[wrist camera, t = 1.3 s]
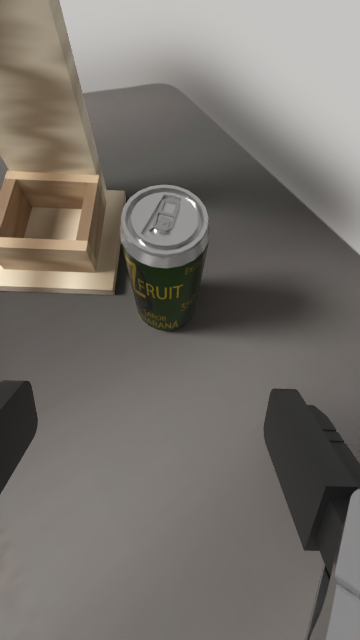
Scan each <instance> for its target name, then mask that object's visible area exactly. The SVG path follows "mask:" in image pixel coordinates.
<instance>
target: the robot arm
mask: <svg viewBox="0 0 360 640" xmlns="http://www.w3.org/2000/svg"><path fill="white" fill-rule="evenodd" d="M37 424H38V418H37V413H36V407H35V402H34V397H33V391H32V386H31V384H30V382H29V381H10V380H4V381H1V382H0V494H1V492H2V490H3V489H4V487H5V485H6V484H7V482H8V480H9V478H10V477H11V475H12V473H13V472H14V470H15V468H16V467H17V465H18V463H19V462H20V460H21V458H22V456H23V455H24V453H25V451H26V450H27V448H28V446H29V445H30V443H31V441H32V440H33V438H34V436H35V433H36V430H37ZM264 438H265V443H266V446H267V449H268V452H269V454H270V457H271V460H272V463H273V465H274V468H275V471H276V474H277V477H278V479H279V482H280V485H281V488H282V490H283V493H284V496H285V499H286V501H287V504H288V507H289V510H290V513H291V515H292V518H293V521H294V524H295V526H296V529H297V532H298V535H299V538H300V540H301V543H302V546H303V549H304V550H309V551H320V553H321V555H322V558H323V560H324V563H325V564H324V566H323V569H322V572H321V576H320V581H319V585H318V589H317V593H316V597H315V601H314V605H313V609H312V613H311V617H310V621H309V625H308V629H307V633H306V637H305V640H360V464H359V462H358V461H357V459H356V458H355V456H354V455H353V453H352V452H351V451H350V449H349V448H348V446H347V445H346V444H344V440H343V439H342V437H341V436H340V434H339V433H338V432H336V429H335V427H334V426H333V424H332V423H331V421H330V420H329V418H328V417H327V416H326V415H325V414H323V413H322V412H321V411H320V410H318V409H317V408H316V407H315V406H314V405H306V403H305V401H304V400H303V398H302V397H301V395H300V393H299V392H298V391H297V390H296V389H272V390H271V393H270V397H269V402H268V407H267V412H266V417H265V422H264Z"/></svg>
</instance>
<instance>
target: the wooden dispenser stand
mask: <svg viewBox="0 0 360 640" xmlns="http://www.w3.org/2000/svg"><path fill="white" fill-rule="evenodd" d="M0 155H1V157H2V159H3V160H4V162H5V164H6V165H7V167H8V169H9V170H10V171H7V173H6V176H5V179H4V182H3V185H2V188H1V191H0V291H20V292H47V293H74V294H101V295H114V294H115V285H116V277H117V269H118V261H119V252H120V244H121V237H120V231H119V230H120V225H121V215H122V211H123V207H124V206H125V202H126V195H125V191H117V190H107V189H106V185H105V181H104V177H103V173H102V169H101V166H100V162H99V158H98V154H97V150H96V146H95V142H94V138H93V134H92V130H91V126H90V122H89V118H88V114H87V110H86V106H85V102H84V98H83V94H82V90H81V86H80V82H79V78H78V74H77V70H76V66H75V62H74V58H73V54H72V50H71V46H70V42H69V38H68V34H67V30H66V26H65V22H64V18H63V14H62V10H61V6H60V2H59V0H0Z"/></svg>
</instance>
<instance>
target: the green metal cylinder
mask: <svg viewBox="0 0 360 640" xmlns="http://www.w3.org/2000/svg"><path fill="white" fill-rule="evenodd" d="M119 231H120V237H121V243H122V247H123V251H124V255H125V259H126V263H127V267H128V272H129V276H130V280H131V284H132V288H133V292H134V296H135V300H136V305H137V309H138V312H139V314H140V316H141V318H142V320H143V321H145V322H146V323H147V324H148V325H149V326H151V327H153V328H155V329H158V330H166V331H168V330H174V329H178V328H179V327H181V326H183V325H185V324H186V323H187V322H188V321H189V320H190V319H191V317H192V315H193V313H194V311H195V307H196V302H197V297H198V292H199V287H200V282H201V277H202V272H203V267H204V262H205V258H206V253H207V248H208V243H209V235H210V227H209V224H208V214H207V211H206V208H205V206H204V204H203V203H202V202H201V200H200V199H199V198H198V197H197V196H195V195H194V194H193V193H191V192H190V191H188V190H186V189H183V188H180V187H178V186H171V185H157V186H150V187H148V188H145V189H143V190H140V191H138V192H137V193H136V194H134V195H133V196H132V197H130V198H129V200H128V201H127V203H126V204H125V206H124V207H123V211H122V215H121V225H120V230H119Z"/></svg>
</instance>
